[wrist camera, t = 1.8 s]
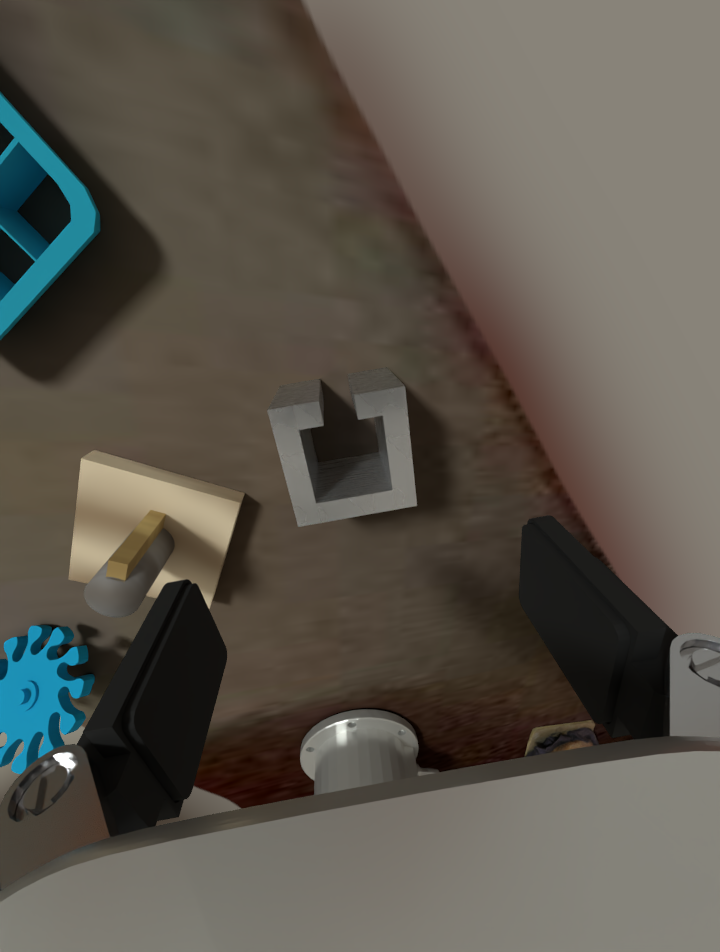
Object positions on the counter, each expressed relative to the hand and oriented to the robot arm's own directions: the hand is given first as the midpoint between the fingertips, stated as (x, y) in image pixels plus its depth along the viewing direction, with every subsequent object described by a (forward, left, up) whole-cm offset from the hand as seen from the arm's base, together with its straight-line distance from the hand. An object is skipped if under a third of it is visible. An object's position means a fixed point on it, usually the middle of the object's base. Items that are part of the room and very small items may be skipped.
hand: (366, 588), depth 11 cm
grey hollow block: (0, 0, -16) cm, 16 cm away
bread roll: (-38, +29, -17) cm, 51 cm away
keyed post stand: (+10, +12, -16) cm, 23 cm away
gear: (+16, +28, -17) cm, 36 cm away
